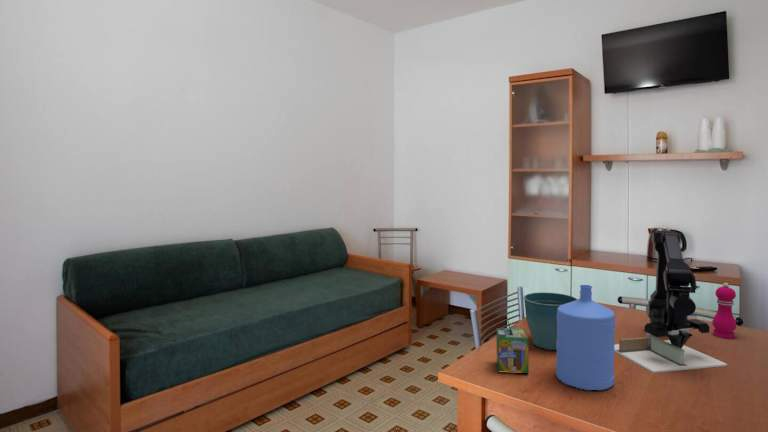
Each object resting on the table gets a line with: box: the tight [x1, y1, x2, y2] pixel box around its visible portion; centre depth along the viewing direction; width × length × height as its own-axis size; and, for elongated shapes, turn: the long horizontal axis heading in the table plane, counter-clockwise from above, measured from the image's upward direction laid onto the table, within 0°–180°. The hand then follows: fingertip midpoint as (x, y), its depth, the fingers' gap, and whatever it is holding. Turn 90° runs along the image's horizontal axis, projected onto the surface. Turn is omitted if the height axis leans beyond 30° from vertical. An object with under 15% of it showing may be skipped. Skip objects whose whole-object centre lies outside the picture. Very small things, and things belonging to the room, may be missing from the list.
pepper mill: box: [711, 282, 738, 340], centre depth 167 cm, size 7×7×20 cm
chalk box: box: [495, 319, 530, 373], centre depth 142 cm, size 9×9×15 cm
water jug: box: [555, 284, 616, 391], centre depth 132 cm, size 16×16×28 cm
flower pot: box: [523, 291, 578, 351], centre depth 161 cm, size 18×18×17 cm
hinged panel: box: [651, 336, 685, 364], centre depth 147 cm, size 12×2×4 cm, turn 9°
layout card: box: [614, 332, 728, 374], centre depth 150 cm, size 22×26×6 cm
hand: (676, 353), depth 147 cm, fingers closed
